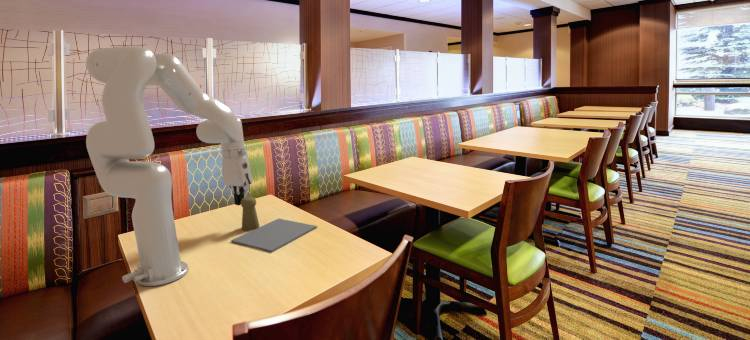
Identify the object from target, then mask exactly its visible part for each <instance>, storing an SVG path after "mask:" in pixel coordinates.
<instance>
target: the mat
mask: <svg viewBox="0 0 750 340" xmlns="http://www.w3.org/2000/svg"><path fill="white" fill-rule="evenodd" d="M317 228H318V225H314V224H308V223H303V222H299V221H293V220H289V219H284V218H277V219H275V220H272V221H270V222H268V223H266V224H264V225H261V226H259V228H257V229H255V230H249V231H248V232H246V233H244V234H242V235H239V236H237V237H235V238H233V239H231V240H230V242H231V243H234V244H238V245H240V246H241V245H242V246H244V247H245V246H246V247H249V248H254V249H257V250H261V251H265V252H269V253H274V252H275V251H277V250H279V249H281V248H283V247H285V246H286V245H288V244H291V243H292V242H293V241H295V240H297V239H299V238H301V237H303V236H305V235H306V234H308V233H310V232H312V231H314V230H316V229H317Z"/></svg>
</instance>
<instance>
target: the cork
mask: <svg viewBox="0 0 750 340" xmlns="http://www.w3.org/2000/svg"><path fill="white" fill-rule="evenodd" d="M256 205H257V200H256V198H255V197H253V196H244V198H243V199H242V200H241V205H240V206H241V207H242V215H241V217H242V218H241V221H242V222H241V229H242V230H243V231H248V232H250V231H252V230H255V229H257V228H259V227H260V222H259V218H258V217H259V216H258V213H257V210H256Z"/></svg>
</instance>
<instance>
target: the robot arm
mask: <svg viewBox="0 0 750 340" xmlns="http://www.w3.org/2000/svg"><path fill="white" fill-rule="evenodd" d="M85 66H86V69H87V72H88V74H89V75H90V76H91V77H92V78H93V79H94V80H96V81H98V82H100V83H103V84H104V87H103V91H102V95H101V103H102V104H101V105H102V109H103V112H104V117H105V121H104V120H103V121H100V122H96V123H95V124H93V125H92V126H91V127H90V128H89V129H88V132H87V133H86V139H85V144H86V149H87V152H88V153H87V154H88V155H89V159H90V160H91V165H92V166H93V169H94V172H95V175H96V178H97V181H98V183H99V185H100V187H101V189H103V191H104V192H105V193H106V194H108V195H109V196H111V197H117V198H125V199H126V198H127V199H129V198H131V199H135V202H134V206H133V208H132V213H131V220H132V226H133V231H134V236H135V241H136V247H137V252H138V253H137V254H138V257H139V263H138V264H137V265H136V269H134V271H132V272H131V273H130V272H128V273H127V274H125V275H123V276H121V279H122V282H123V283H124V284H126V283H129V282H131V281H133V282H134V283H137V284H138V285H141V286H144V287H154V286H155V287H156V286H161V285H165V284H170V283H171V282H172V283H173V282H175V281H177V280H179V279H181V278H182V277H184V276H185V275H186V274H187V273H188V271H189V264H188V263H186V262H185V261H182V260H181V254H180V248H179V241H178V235H177V229H176V224H175V223H176V222H175V218H174V211H173V203H172V189H173V178H172V173H171V172H170V170H169V169H168V167H166V166H165V165H163V164H161V163H158V162H153V161H136V160H139V159H141V160H142V159H145V158H148V157H149V156H151V155H152V154H153V152H154V151H155V140H154V136H153V132H152V128H151V125H150V121H149V119H148V118H149V117H148V115H147V111H146V107H145V103H144V94H145V91H146V88H147V87H148V86H149V87H151V86H152V87H153V86H156V87H159V89H161V90H162V91H163V92H164V93H165V95H166V96H167V97H168V98H169V99H170V100H171V101H172V103H173V104H174V105H175V106H176V108H177V109H179V110H180V111H181V112H184V113H186V114H189V115H192V116H195V117H200V118H203V119H204V120H203V121H201V122H200V123H198V125H197V127H196V130H195V131H196V136H197V138H198V140H200V141H201V142H203V143H206V144H220V148H221V155H222V156H221V157H222V161H221V168H222V169H221V170H222V180H223V183H224V184H225V186H226V187H227V188H229V189H230V190H231V194H232V195H233V200H234V205H235V206H241V200H242V199H243V198H245V193H246V191H247V190H250V188H251V187H250V185H252V184H253V176H252V170H251V166H250V162H249V159H248V157H247V156H246V153H247V152H246V149H245V148H246V147H245V139H244V131H243V124H242V123H243V121H242V119H240V118H239V117H237V116H236V114H235V113H234V112H233V111H232V110H231V109H230V107H228V106H227V105H226V104H224V103H223V102H221V101H220V100H218V99H216V98H215V97H213V96H211V95H210V94H208V93H205V91H203V89H202V88H201V87H200V86H199V85H198V83H197V82H196V80H195V79H194V78H193V76H192V75H191V74H190V72H189V71H188V70H187V69H186V67H185V65H184V64H183V63H182V62H181V60H180V59H179V58H177V56H175V55H173V54H171V53H167V52H166V53H164V52H161V53H158V52H157V53H153V52H152V50H151V49H149V48H147V47H143V46H138V45H128V46H126V45H125V46H117V47H115V46H112V47H102V48H96V49H94V50H93V51H90V52H89V54H88V55H87V57H86V59H85ZM205 119H206V120H205ZM130 160H135V161H130Z"/></svg>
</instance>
